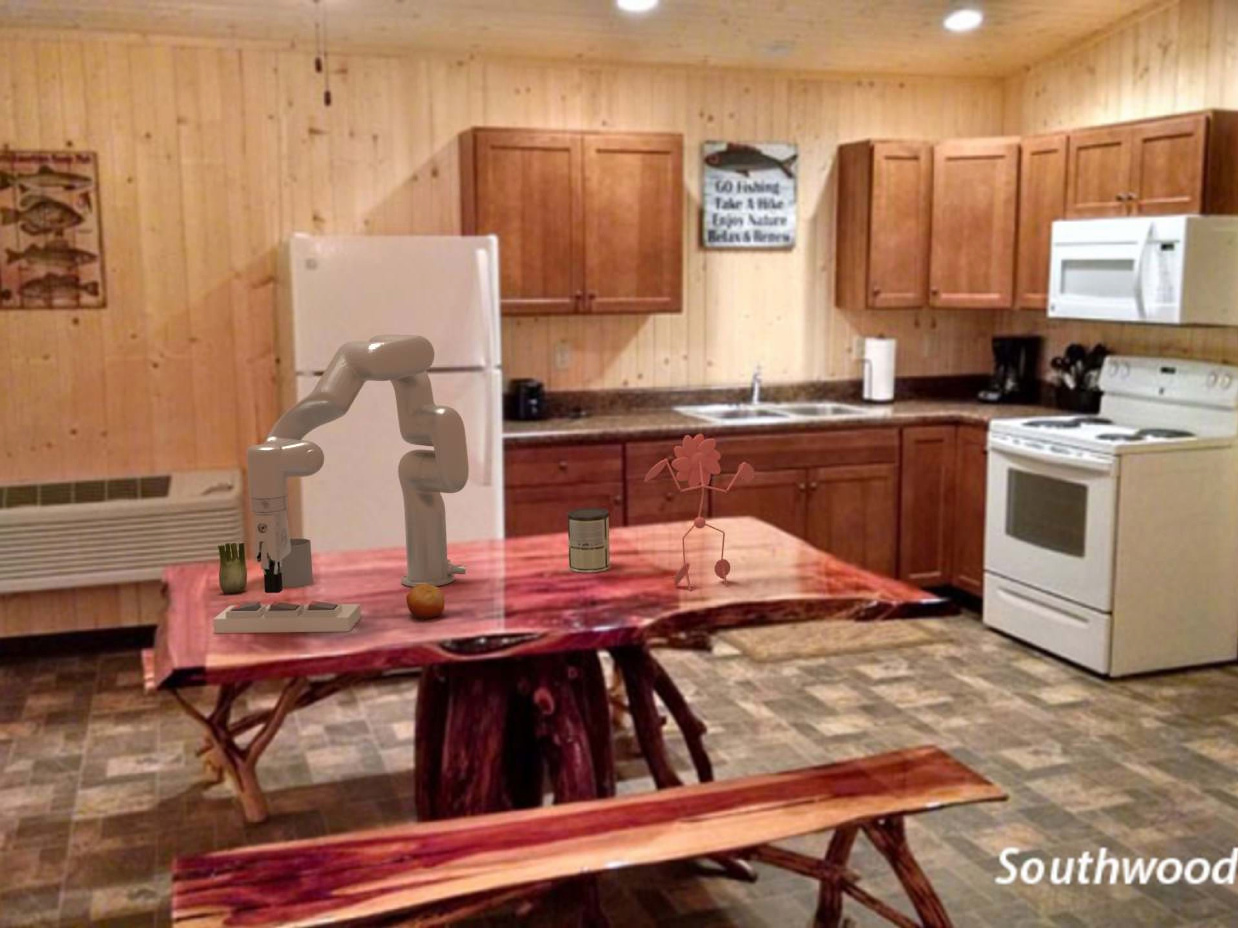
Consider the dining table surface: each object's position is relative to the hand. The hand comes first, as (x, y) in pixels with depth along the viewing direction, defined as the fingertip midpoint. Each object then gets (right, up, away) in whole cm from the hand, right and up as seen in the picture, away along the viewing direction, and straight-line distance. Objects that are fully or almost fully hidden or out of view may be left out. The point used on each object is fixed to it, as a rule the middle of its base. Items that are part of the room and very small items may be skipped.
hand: (273, 591), depth 247 cm
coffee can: (+64, +1, +47) cm, 80 cm away
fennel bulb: (-18, -4, +31) cm, 36 cm away
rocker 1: (-6, -4, +1) cm, 7 cm away
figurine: (+90, -1, +32) cm, 95 cm away
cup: (-6, -2, +39) cm, 39 cm away
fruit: (+30, -6, +8) cm, 32 cm away
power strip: (+2, -7, +4) cm, 9 cm away
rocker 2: (+10, -3, +1) cm, 11 cm away
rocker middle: (+2, -3, +1) cm, 4 cm away
